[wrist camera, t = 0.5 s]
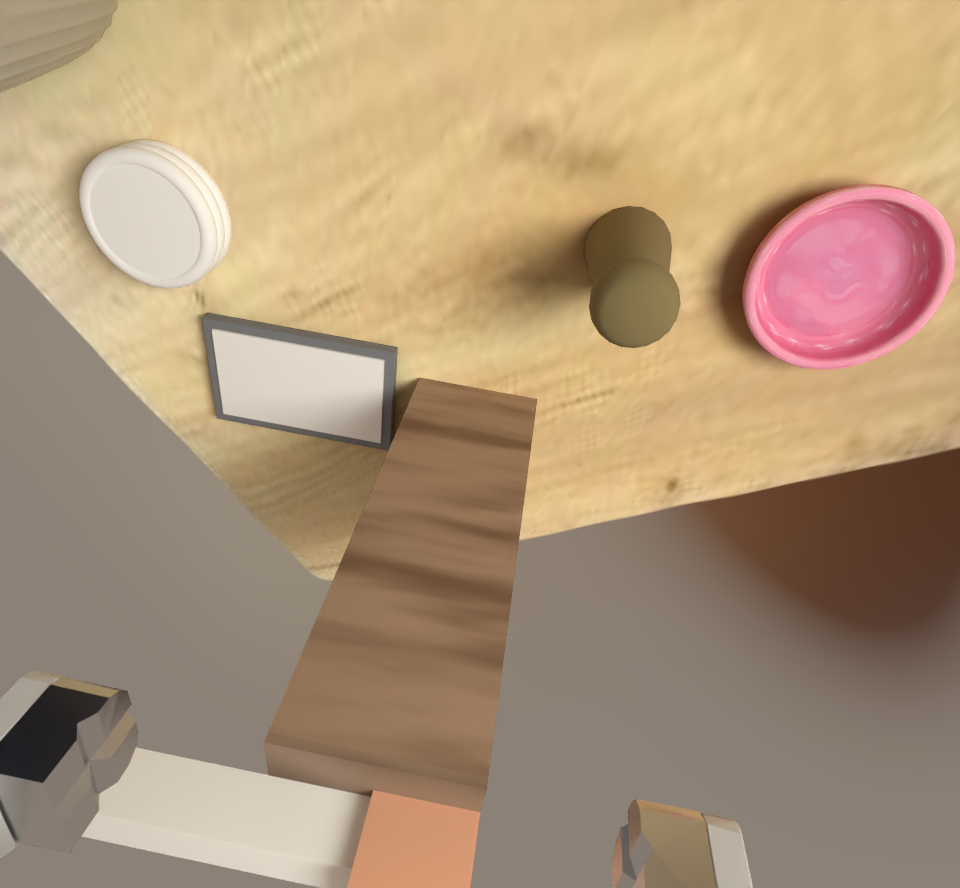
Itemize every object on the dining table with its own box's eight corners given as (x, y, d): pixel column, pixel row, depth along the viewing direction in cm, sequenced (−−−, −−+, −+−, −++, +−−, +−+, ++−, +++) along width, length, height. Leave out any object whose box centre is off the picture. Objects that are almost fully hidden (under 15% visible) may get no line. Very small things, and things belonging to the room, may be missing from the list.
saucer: (737, 361, 49) (745, 382, 47) (735, 196, 43) (743, 210, 40) (921, 337, 46) (940, 358, 44) (950, 155, 40) (974, 168, 37)
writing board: (207, 312, 53) (200, 319, 52) (397, 347, 53) (393, 354, 52) (222, 412, 59) (215, 419, 58) (392, 444, 59) (389, 452, 58)
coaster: (79, 151, 47) (46, 162, 44) (199, 125, 45) (172, 135, 42) (145, 281, 53) (120, 299, 50) (254, 264, 50) (234, 281, 47)
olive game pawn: (658, 191, 43) (675, 248, 34) (681, 273, 46) (702, 344, 37) (571, 226, 45) (566, 287, 36) (599, 302, 48) (601, 376, 39)
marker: (56, 724, 30) (-15, 823, 27) (480, 812, 29) (464, 926, 26) (79, 769, 33) (17, 865, 29) (469, 851, 32) (453, 960, 29)
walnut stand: (419, 377, 54) (263, 742, 28) (537, 399, 54) (486, 788, 28) (412, 461, 59) (276, 830, 34) (519, 481, 59) (463, 870, 33)
